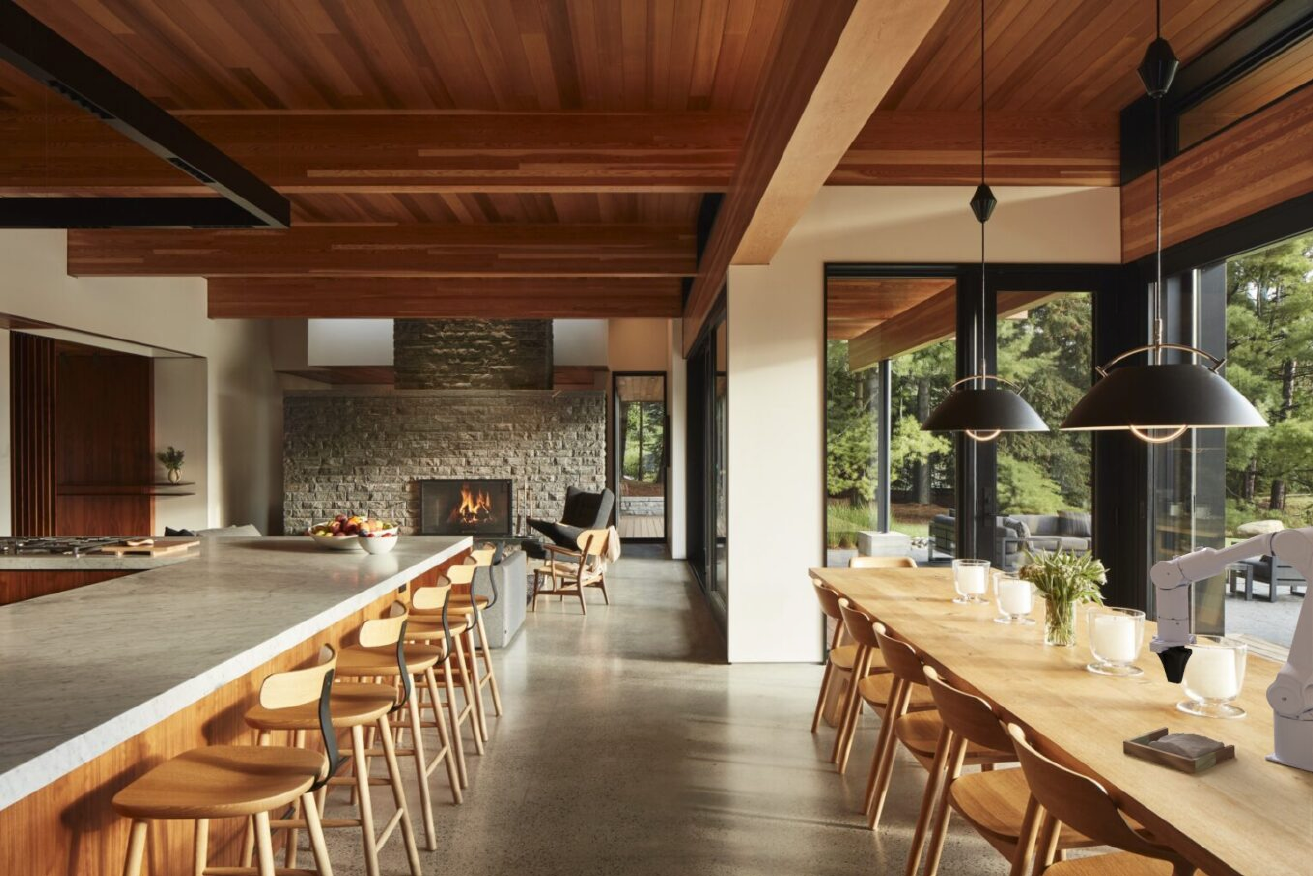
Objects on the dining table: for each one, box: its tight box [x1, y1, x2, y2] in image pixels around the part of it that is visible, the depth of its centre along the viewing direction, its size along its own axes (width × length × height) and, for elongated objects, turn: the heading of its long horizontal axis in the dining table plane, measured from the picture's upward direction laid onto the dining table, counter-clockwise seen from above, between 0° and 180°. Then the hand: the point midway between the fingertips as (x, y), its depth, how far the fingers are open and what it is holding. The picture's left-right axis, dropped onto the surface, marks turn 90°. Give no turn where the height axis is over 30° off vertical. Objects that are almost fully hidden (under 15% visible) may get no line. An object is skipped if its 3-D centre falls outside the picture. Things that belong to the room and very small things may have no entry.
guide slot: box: [1122, 726, 1236, 774], centre depth 160 cm, size 13×15×2 cm
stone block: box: [1148, 732, 1226, 759], centre depth 159 cm, size 12×5×10 cm
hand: (1174, 682), depth 175 cm, fingers closed
